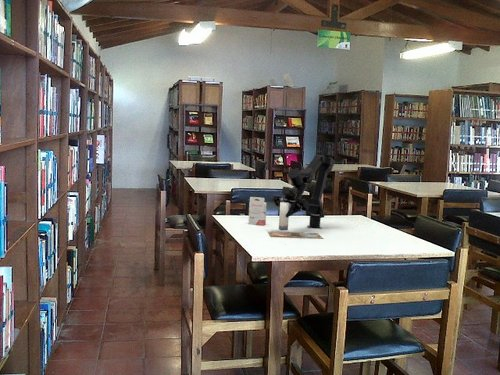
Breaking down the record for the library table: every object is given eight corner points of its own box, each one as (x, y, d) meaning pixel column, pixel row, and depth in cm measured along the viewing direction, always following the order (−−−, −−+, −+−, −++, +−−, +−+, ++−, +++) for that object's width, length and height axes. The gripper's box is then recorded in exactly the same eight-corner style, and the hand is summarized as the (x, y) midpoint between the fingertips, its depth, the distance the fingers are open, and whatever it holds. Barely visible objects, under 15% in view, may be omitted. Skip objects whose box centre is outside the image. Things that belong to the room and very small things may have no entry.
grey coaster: (297, 233, 250) (297, 232, 250) (315, 234, 251) (315, 233, 251) (300, 237, 241) (300, 236, 241) (319, 237, 242) (319, 237, 242)
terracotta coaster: (270, 232, 249) (271, 231, 249) (289, 233, 249) (289, 232, 249) (273, 236, 240) (273, 235, 240) (292, 236, 241) (292, 236, 241)
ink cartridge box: (265, 224, 276) (267, 197, 274) (263, 225, 271) (265, 198, 270) (250, 222, 278) (251, 195, 277) (248, 224, 273) (249, 196, 272)
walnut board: (267, 233, 251) (267, 231, 250) (317, 234, 253) (317, 233, 253) (270, 238, 238) (270, 237, 238) (323, 240, 240) (323, 238, 240)
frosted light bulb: (277, 228, 246) (278, 202, 245) (285, 228, 248) (286, 201, 247) (281, 230, 242) (283, 203, 241) (289, 230, 244) (291, 203, 243)
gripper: (275, 178, 252) (260, 202, 244) (307, 182, 240) (292, 207, 233) (283, 193, 259) (269, 217, 251) (315, 198, 247) (300, 223, 239)
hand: (282, 216), depth 243 cm, fingers closed on frosted light bulb, 4 cm apart
